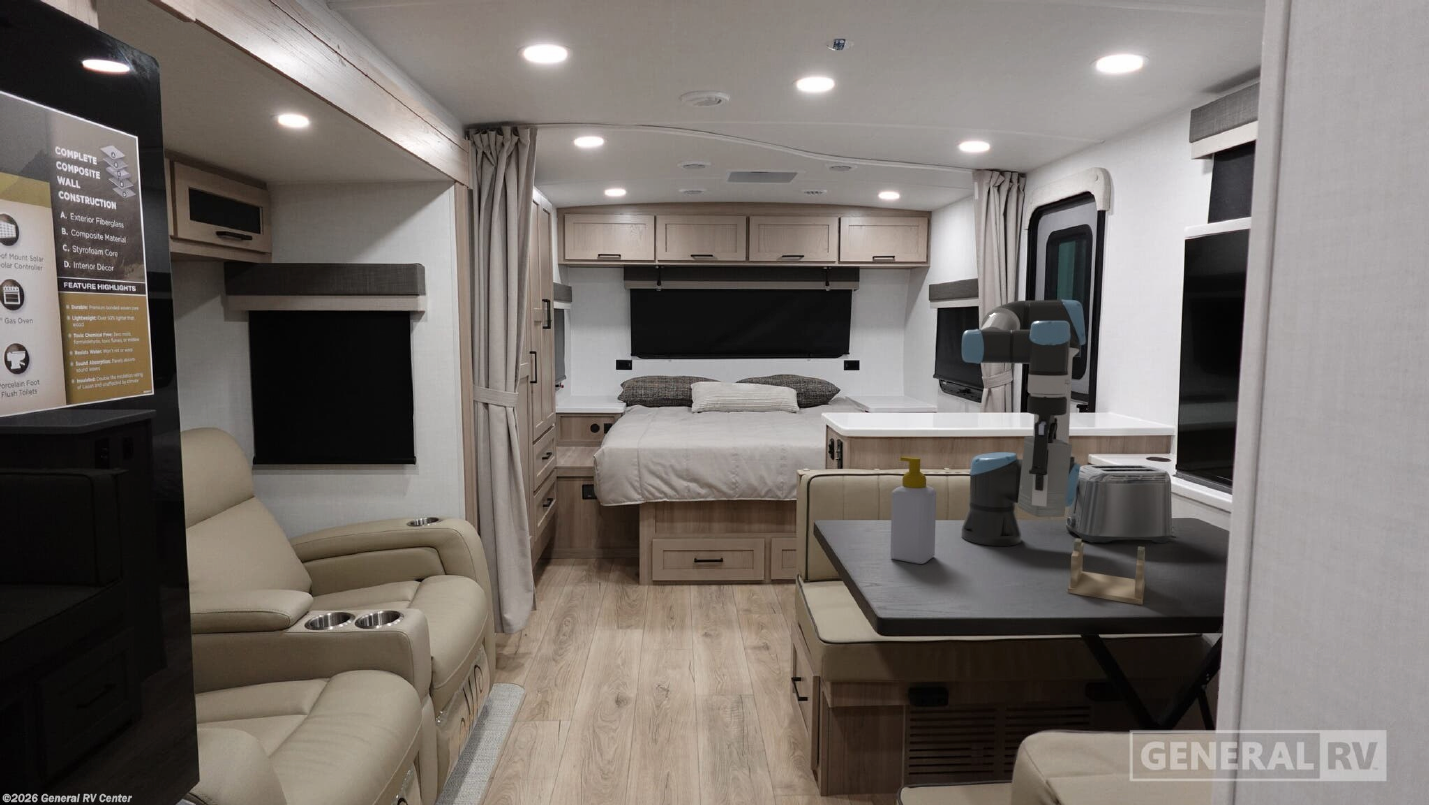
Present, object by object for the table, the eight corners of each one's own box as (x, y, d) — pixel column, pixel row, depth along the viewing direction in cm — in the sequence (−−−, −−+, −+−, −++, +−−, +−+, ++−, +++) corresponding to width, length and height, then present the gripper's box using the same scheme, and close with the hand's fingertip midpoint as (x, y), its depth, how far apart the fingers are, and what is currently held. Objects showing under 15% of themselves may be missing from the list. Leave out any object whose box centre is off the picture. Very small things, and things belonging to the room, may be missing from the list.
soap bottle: (901, 550, 193) (904, 454, 191) (936, 556, 188) (939, 457, 185) (888, 559, 186) (890, 459, 183) (923, 566, 181) (926, 462, 178)
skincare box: (1016, 508, 163) (1019, 436, 161) (1048, 507, 163) (1051, 435, 162) (1036, 518, 155) (1039, 442, 153) (1069, 517, 155) (1073, 441, 153)
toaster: (1054, 528, 214) (1057, 462, 212) (1160, 529, 213) (1163, 463, 211) (1080, 545, 198) (1083, 474, 196) (1195, 546, 196) (1199, 474, 194)
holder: (1067, 592, 162) (1069, 547, 161) (1075, 574, 174) (1077, 532, 173) (1142, 605, 155) (1144, 557, 154) (1144, 585, 167) (1147, 541, 166)
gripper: (1059, 401, 145) (1055, 514, 147) (1073, 391, 164) (1069, 491, 166) (1018, 399, 149) (1014, 509, 151) (1036, 389, 168) (1032, 488, 170)
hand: (1043, 500), depth 159 cm, fingers closed on skincare box, 10 cm apart
